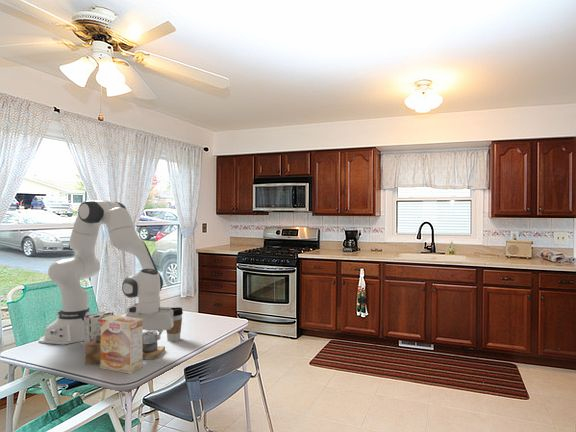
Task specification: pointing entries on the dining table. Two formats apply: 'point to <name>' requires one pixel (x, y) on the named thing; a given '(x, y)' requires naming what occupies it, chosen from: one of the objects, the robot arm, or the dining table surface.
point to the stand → (93, 352)
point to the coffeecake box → (121, 343)
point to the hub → (152, 350)
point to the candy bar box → (93, 325)
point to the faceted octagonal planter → (149, 337)
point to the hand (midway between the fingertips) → (149, 339)
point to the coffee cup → (175, 325)
